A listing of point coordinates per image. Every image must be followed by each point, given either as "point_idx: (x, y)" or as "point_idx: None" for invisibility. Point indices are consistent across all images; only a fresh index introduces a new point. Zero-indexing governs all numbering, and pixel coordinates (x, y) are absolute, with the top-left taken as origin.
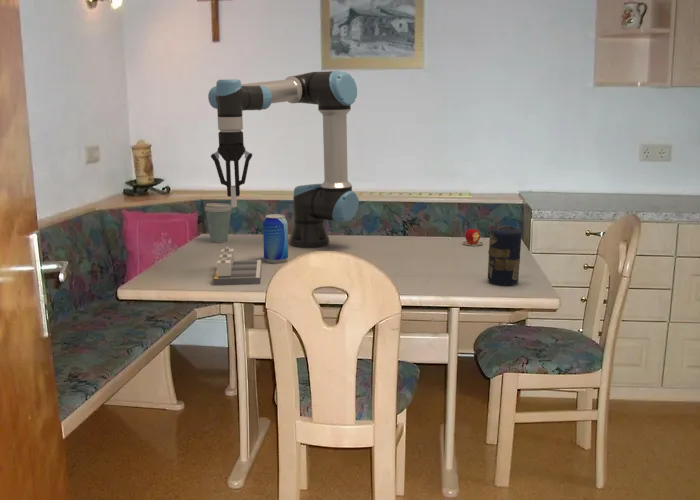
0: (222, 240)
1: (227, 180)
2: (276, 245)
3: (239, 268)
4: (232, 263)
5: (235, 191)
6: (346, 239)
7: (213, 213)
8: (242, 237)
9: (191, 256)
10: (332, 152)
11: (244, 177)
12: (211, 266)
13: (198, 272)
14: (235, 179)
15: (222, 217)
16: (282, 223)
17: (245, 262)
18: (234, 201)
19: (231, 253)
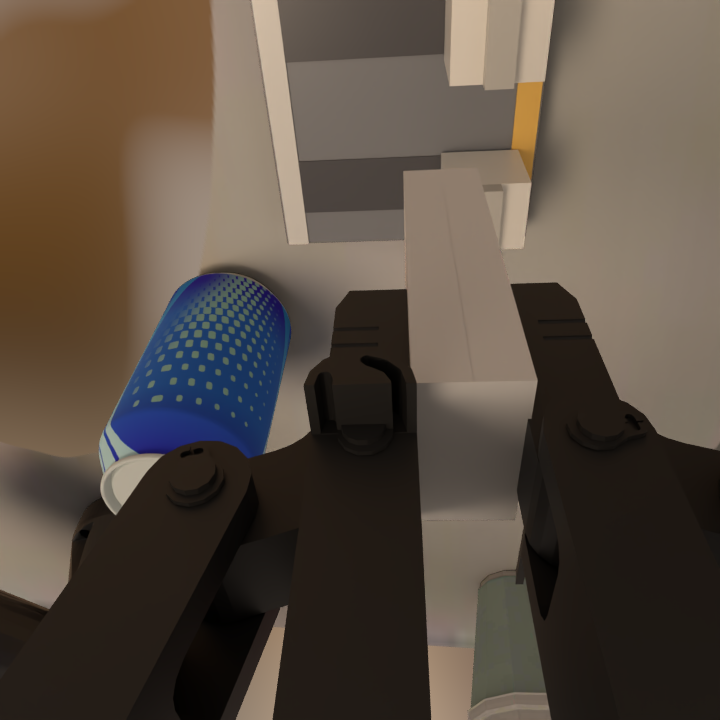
0: (498, 578)
1: (669, 531)
2: (192, 320)
3: (396, 27)
4: (445, 64)
5: (412, 312)
6: (40, 572)
7: None
8: None
9: (646, 411)
10: None
11: (94, 614)
12: (564, 231)
13: (655, 98)
14: (405, 556)
15: (507, 668)
16: (114, 425)
17: (370, 189)
18: (432, 211)
19: None
